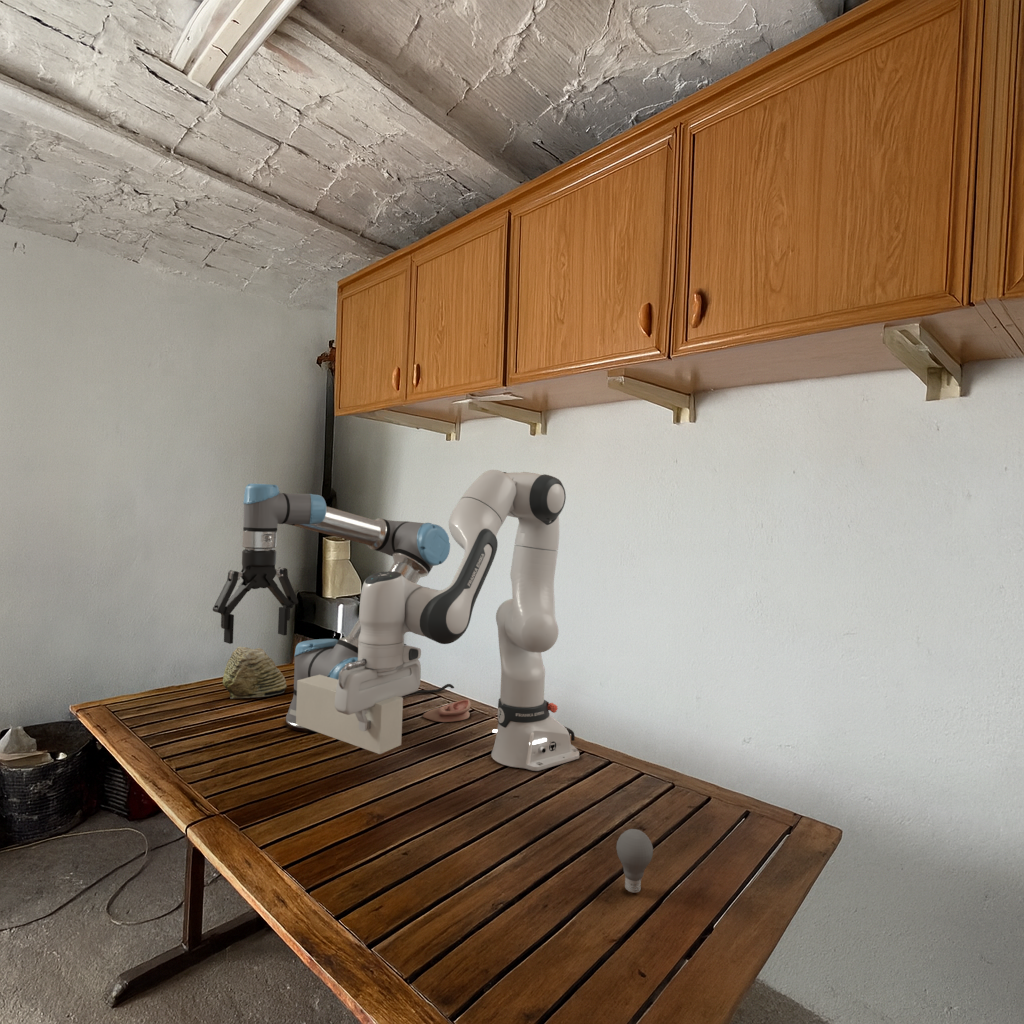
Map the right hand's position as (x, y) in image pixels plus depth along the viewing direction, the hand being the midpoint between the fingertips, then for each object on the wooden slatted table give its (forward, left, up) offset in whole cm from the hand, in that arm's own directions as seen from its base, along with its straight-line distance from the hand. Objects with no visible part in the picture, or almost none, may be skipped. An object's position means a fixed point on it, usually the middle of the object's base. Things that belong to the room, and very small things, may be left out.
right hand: (378, 724), depth 125 cm
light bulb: (-33, +39, -19) cm, 55 cm away
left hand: (+19, -38, +10) cm, 44 cm away
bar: (+4, -8, -4) cm, 10 cm away
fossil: (+14, -89, -19) cm, 92 cm away
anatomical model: (-35, -50, -19) cm, 64 cm away
